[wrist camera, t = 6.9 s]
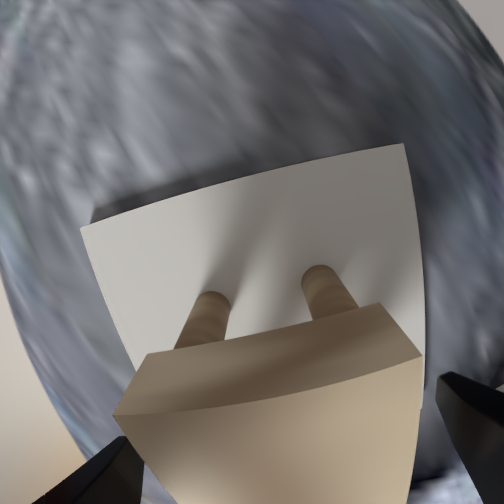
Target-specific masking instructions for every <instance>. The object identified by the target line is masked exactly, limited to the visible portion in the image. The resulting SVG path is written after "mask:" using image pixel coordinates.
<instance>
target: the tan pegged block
mask: <svg viewBox="0 0 504 504" xmlns="http://www.w3.org/2000/svg"><path fill="white" fill-rule="evenodd" d="M301 286H302V290H303V293H304V296H305V299H306V302H307V305H308V308H309V311H310V314H311V317H312V321H308V322H304V323H300V324H295V325H291V326H287V327H283V328H279V329H274V330H270V331H265V332H261V333H256V334H252V335H247V336H242V337H237V338H233V339H228V340H224V339H225V334H226V329H227V325H228V320H229V315H230V303H229V301H228V300H227V298H226V297H225V296H224V295H222V294H221V293H218V292H215V291H208V292H204V293H202V294H201V295H199V297H198V298H197V299H196V301H195V303H194V306H193V308H192V310H191V312H190V314H189V316H188V318H187V320H186V323H185V325H184V327H183V329H182V331H181V333H180V335H179V338H178V340H177V342H176V344H175V346H174V348H173V350H167V351H161V352H155V353H148V354H147V355H146V356H145V358H144V360H143V362H142V363H141V365H140V367H139V369H138V370H137V372H136V374H135V376H134V377H133V379H132V381H131V383H130V384H129V386H128V388H127V390H126V392H125V393H124V395H123V397H122V399H121V401H120V402H119V404H118V406H117V408H116V410H115V411H114V413H113V415H112V416H113V417H114V419H115V420H116V422H117V423H118V425H119V426H120V428H121V430H122V431H123V433H124V434H125V435H126V437H127V438H128V440H129V441H130V443H131V444H132V446H133V447H134V448H135V450H136V451H137V453H138V454H139V455H140V457H141V458H142V459H143V461H144V462H145V463H146V465H147V466H148V467H149V469H150V470H151V471H152V473H153V474H154V475H155V476H156V478H157V479H158V480H159V481H160V483H161V484H162V485H163V486H164V488H165V489H166V490H167V491H168V492H169V493H170V495H171V496H172V497H173V498H174V499H175V500H176V502H177V503H178V504H406V502H407V497H408V493H409V488H410V482H411V477H412V471H413V465H414V459H415V452H416V445H417V437H418V428H419V418H420V407H421V392H422V371H423V355H422V354H421V353H420V351H419V350H418V349H417V348H416V346H415V345H414V344H413V343H412V341H411V340H410V339H409V338H408V336H407V335H406V334H405V333H404V331H403V330H402V329H401V328H400V326H399V325H398V324H397V323H396V321H395V320H394V319H393V318H392V317H391V315H390V314H389V313H388V312H387V311H386V309H385V308H384V307H383V306H382V304H381V303H380V302H377V303H374V304H371V305H367V306H364V307H360V308H359V306H358V305H357V303H356V302H355V300H354V299H353V297H352V296H351V294H350V293H349V292H348V290H347V289H346V287H345V286H344V284H343V283H342V281H341V280H340V278H339V277H338V276H337V274H336V273H335V271H334V270H333V269H332V268H330V267H329V266H326V265H315V266H312V267H311V268H309V269H308V270H307V271H306V272H305V273H304V275H303V277H302V280H301Z"/></svg>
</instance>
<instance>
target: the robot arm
mask: <svg viewBox="0 0 504 504" xmlns="http://www.w3.org/2000/svg"><path fill="white" fill-rule="evenodd" d="M436 403H437V406H438V408H439V411H440V413H441V415H442V418H443V420H444V423H445V425H446V428H447V430H448V433H449V435H450V438H451V440H452V443H453V445H454V447H455V449H456V451H457V452H458V454H459V456H460V458H461V460H462V462H463V464H464V466H465V468H466V470H467V471H468V473H469V475H470V477H471V479H472V481H473V483H474V485H475V487H476V489H477V491H478V493H479V495H480V497H481V499H482V501H483V504H504V392H502V391H499V390H496V389H494V388H491V387H489V386H486V385H484V384H482V383H479V382H477V381H474V380H472V379H469V378H467V377H464V376H462V375H459V374H457V373H455V372H452V371H449V372H447V373H444V374H442V375H440V376H439V377H438V378H437V387H436ZM143 473H144V461H143V459H142V458H141V457H140V455H139V454H138V453H137V451H136V450H135V448H134V447H133V446H132V444H131V443H130V441H129V440H128V438H127V437H126V436H119V437H117V438H116V439H115V440H113V441H112V442H111V443H110V444H109V445H107V446H106V447H105V448H104V449H102V450H101V451H100V452H99V453H97V454H96V455H95V456H94V457H92V458H91V459H90V460H89V461H87V462H86V463H85V464H84V465H82V466H81V467H80V468H79V469H77V470H76V471H75V472H74V473H72V474H71V475H69V476H68V477H67V478H66V479H64V480H63V481H62V482H60V483H59V484H58V485H56V486H55V487H54V488H52V489H51V490H50V491H49V492H47V493H46V494H45V495H43V496H42V497H40V498H39V499H37V500H36V501H35V502H33V503H32V504H140V502H141V495H142V484H143Z"/></svg>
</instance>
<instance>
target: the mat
mask: <svg viewBox="0 0 504 504" xmlns="http://www.w3.org/2000/svg"><path fill="white" fill-rule="evenodd" d="M80 231H81V234H82V237H83V240H84V243H85V246H86V249H87V252H88V255H89V258H90V261H91V264H92V267H93V270H94V273H95V275H96V278H97V281H98V284H99V286H100V289H101V292H102V294H103V297H104V299H105V302H106V304H107V307H108V309H109V312H110V314H111V317H112V319H113V321H114V324H115V326H116V328H117V331H118V333H119V335H120V337H121V340H122V342H123V344H124V346H125V348H126V351H127V353H128V355H129V357H130V359H131V361H132V363H133V365H134V367H135V369H136V371H137V370H138V369H139V367H140V365H141V363H142V362H143V360H144V358H145V356H146V355H147V354H148V353H155V352H161V351H167V350H173V348H174V346H175V344H176V342H177V340H178V338H179V335H180V333H181V331H182V329H183V327H184V325H185V323H186V320H187V318H188V316H189V314H190V312H191V310H192V308H193V306H194V303H195V301H196V299H197V298H198V297H199V295H201V294H202V293H204V292H208V291H215V292H218V293H221V294H222V295H224V296H225V297H226V298H227V300H228V301H229V303H230V315H229V320H228V325H227V329H226V334H225V339H224V340H228V339H233V338H237V337H242V336H247V335H252V334H256V333H261V332H265V331H270V330H274V329H279V328H283V327H287V326H291V325H295V324H300V323H304V322H308V321H312V317H311V314H310V311H309V308H308V305H307V302H306V299H305V296H304V293H303V290H302V286H301V280H302V277H303V275H304V273H305V272H306V271H307V270H308V269H309V268H311V267H312V266H315V265H326V266H329V267H330V268H332V269H333V270H334V271H335V273H336V274H337V276H338V277H339V278H340V280H341V281H342V283H343V284H344V286H345V287H346V289H347V290H348V292H349V293H350V294H351V296H352V297H353V299H354V300H355V302H356V303H357V305H358V306H359V308H360V307H364V306H367V305H371V304H374V303H377V302H380V303H381V304H382V306H383V307H384V308H385V309H386V311H387V312H388V313H389V314H390V315H391V317H392V318H393V319H394V320H395V321H396V323H397V324H398V325H399V326H400V328H401V329H402V330H403V331H404V333H405V334H406V335H407V336H408V338H409V339H410V340H411V341H412V343H413V344H414V345H415V346H416V348H417V349H418V350H419V351H420V353H421V354H422V355H423V371H422V392H421V407H420V408H422V402H423V388H424V370H425V300H424V281H423V267H422V256H421V246H420V237H419V228H418V221H417V213H416V207H415V200H414V194H413V188H412V182H411V177H410V172H409V167H408V162H407V157H406V152H405V148H404V143H401V144H394V145H388V146H383V147H377V148H372V149H366V150H361V151H356V152H351V153H346V154H341V155H336V156H331V157H326V158H322V159H317V160H312V161H308V162H303V163H299V164H295V165H290V166H286V167H282V168H278V169H274V170H270V171H265V172H261V173H257V174H254V175H250V176H246V177H242V178H238V179H234V180H231V181H227V182H223V183H220V184H216V185H212V186H209V187H205V188H202V189H198V190H195V191H191V192H188V193H184V194H181V195H178V196H174V197H171V198H168V199H165V200H161V201H158V202H155V203H152V204H149V205H145V206H142V207H139V208H136V209H133V210H130V211H127V212H124V213H121V214H118V215H115V216H112V217H109V218H106V219H103V220H101V221H98V222H95V223H92V224H89V225H87V226H84V227H81V228H80Z"/></svg>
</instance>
